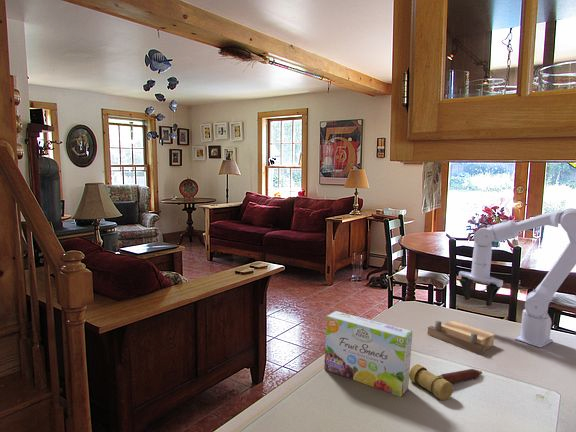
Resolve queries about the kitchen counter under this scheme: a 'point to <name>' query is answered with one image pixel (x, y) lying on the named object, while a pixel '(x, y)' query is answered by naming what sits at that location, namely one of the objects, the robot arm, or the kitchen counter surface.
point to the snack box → (368, 352)
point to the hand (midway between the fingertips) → (477, 302)
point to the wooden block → (469, 332)
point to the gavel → (440, 380)
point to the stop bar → (456, 339)
